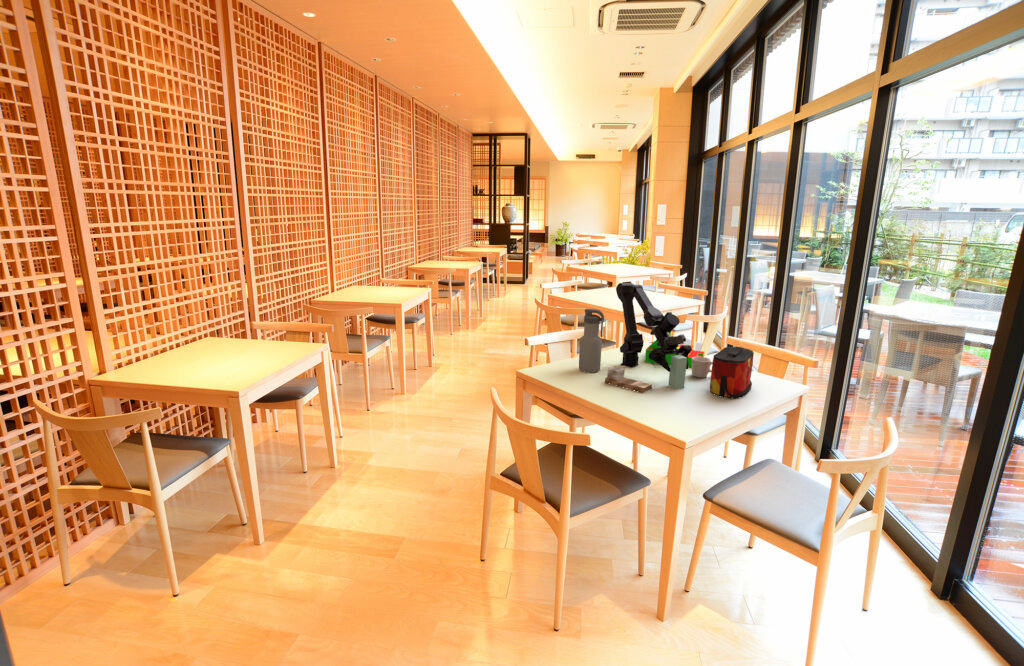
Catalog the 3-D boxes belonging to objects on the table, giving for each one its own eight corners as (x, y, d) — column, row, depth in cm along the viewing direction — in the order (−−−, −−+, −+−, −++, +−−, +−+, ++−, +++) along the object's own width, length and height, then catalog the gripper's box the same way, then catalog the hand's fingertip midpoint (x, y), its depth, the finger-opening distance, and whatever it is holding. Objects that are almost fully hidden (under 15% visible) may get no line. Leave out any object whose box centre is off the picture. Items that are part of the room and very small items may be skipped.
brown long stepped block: (604, 382, 223) (605, 369, 221) (613, 379, 228) (614, 365, 226) (643, 393, 211) (644, 378, 209) (651, 389, 216) (652, 375, 214)
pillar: (668, 385, 220) (671, 355, 217) (676, 384, 222) (679, 354, 219) (675, 389, 216) (678, 358, 213) (684, 387, 218) (687, 357, 215)
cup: (712, 374, 237) (714, 357, 235) (717, 379, 229) (719, 362, 228) (688, 373, 238) (689, 356, 236) (692, 378, 230) (693, 361, 229)
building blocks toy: (698, 370, 244) (702, 331, 240) (644, 362, 255) (647, 325, 251) (704, 360, 260) (708, 324, 256) (653, 353, 271) (656, 318, 267)
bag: (724, 376, 234) (728, 341, 230) (757, 383, 226) (762, 346, 222) (703, 394, 210) (707, 355, 207) (740, 402, 202) (745, 361, 199)
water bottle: (600, 367, 244) (604, 308, 238) (601, 373, 235) (604, 312, 228) (578, 366, 246) (581, 307, 239) (578, 372, 236) (581, 311, 230)
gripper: (655, 329, 214) (670, 362, 207) (691, 326, 222) (707, 358, 214) (642, 343, 223) (656, 376, 216) (677, 340, 230) (692, 371, 223)
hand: (678, 370), depth 217 cm, fingers open, 9 cm apart
